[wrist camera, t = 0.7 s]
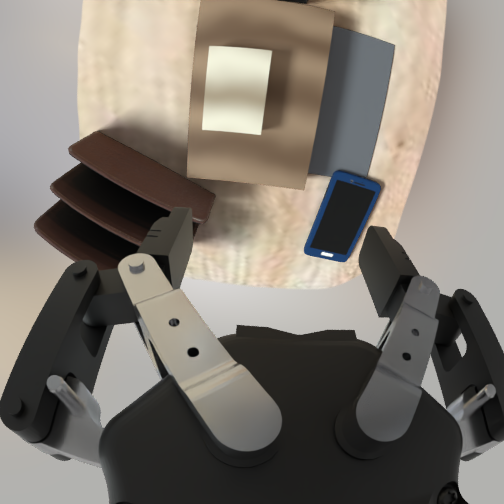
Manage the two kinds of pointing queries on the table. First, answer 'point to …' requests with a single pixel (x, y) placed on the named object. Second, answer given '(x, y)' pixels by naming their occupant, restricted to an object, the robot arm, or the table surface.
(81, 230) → the letter holder
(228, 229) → the table surface
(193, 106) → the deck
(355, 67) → the mat
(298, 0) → the ammunition clip
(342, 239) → the cell phone
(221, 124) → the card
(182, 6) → the table surface
